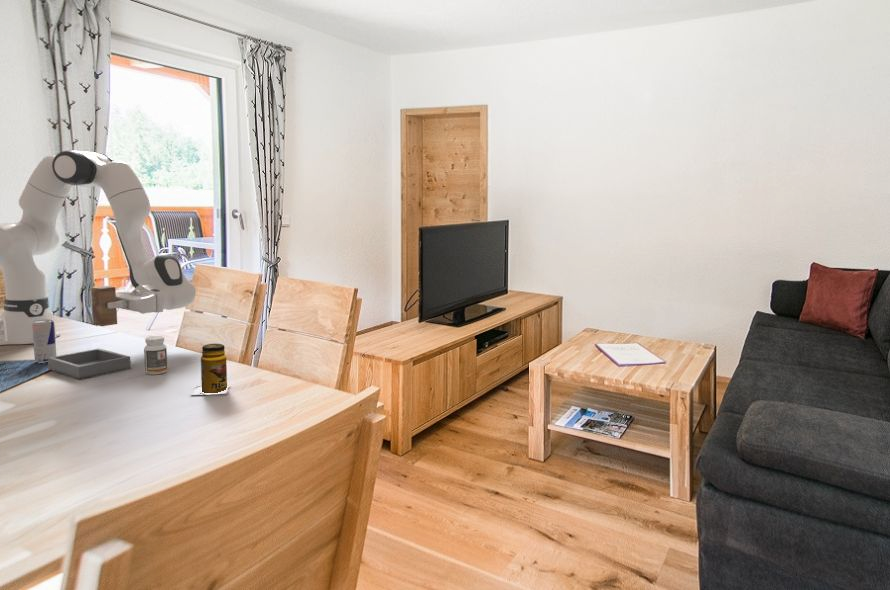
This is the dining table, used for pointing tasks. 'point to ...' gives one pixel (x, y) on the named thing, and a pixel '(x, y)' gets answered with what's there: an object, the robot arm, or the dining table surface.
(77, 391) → the dining table surface
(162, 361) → the pill bottle
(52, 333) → the energy drink
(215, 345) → the condiment
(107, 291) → the walnut block
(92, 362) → the tote
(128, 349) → the dining table surface
